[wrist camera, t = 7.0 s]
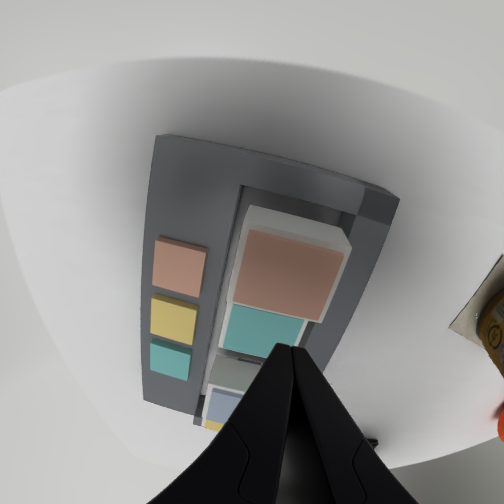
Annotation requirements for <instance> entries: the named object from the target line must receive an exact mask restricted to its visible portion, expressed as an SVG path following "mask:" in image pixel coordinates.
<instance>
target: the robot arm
mask: <svg viewBox="0 0 504 504" xmlns="http://www.w3.org/2000/svg"><path fill="white" fill-rule="evenodd" d="M377 445H378V441H377V440H367V439H366V438H364V435H363V433H362V432H361V430H360V429H359V428H358V426H357V425H356V423H355V422H354V420H353V419H352V417H351V416H350V414H349V413H348V411H347V410H346V408H345V407H344V405H343V404H342V402H341V401H340V399H339V398H338V396H337V395H336V393H335V392H334V390H333V389H332V387H331V386H330V384H329V383H328V381H327V380H326V378H325V377H324V375H323V374H322V372H321V371H320V369H319V368H318V366H317V365H316V363H315V362H314V360H313V359H312V357H311V356H310V354H309V353H308V351H307V350H306V349H305V348H303V347H298V346H291V347H290V345H288V344H283V343H279V342H277V343H276V344H275V345H274V347H273V349H272V350H271V352H270V354H269V355H268V357H267V358H266V360H265V362H264V363H263V365H262V367H261V368H260V370H259V372H258V373H257V375H256V376H255V378H254V380H253V381H252V383H251V384H250V386H249V387H248V389H247V391H246V392H245V394H244V395H243V397H242V398H241V400H240V401H239V403H238V405H237V406H236V408H235V409H234V411H233V412H232V414H231V415H230V417H229V418H228V420H227V421H226V422H225V424H224V425H223V427H222V428H221V430H220V431H219V433H218V434H217V435H216V437H215V438H214V439H213V440H212V442H211V443H210V444H209V446H208V447H207V448H206V449H205V450H204V451H203V452H202V453H201V454H200V456H199V457H198V458H197V459H196V460H195V461H194V462H193V463H192V464H191V465H190V466H189V467H188V468H187V469H186V470H184V471H183V472H182V473H181V474H180V475H179V476H178V477H177V478H176V479H175V480H174V481H173V482H172V483H171V484H169V485H168V486H167V487H166V488H165V489H164V490H163V491H162V492H160V493H159V494H158V495H157V496H156V497H154V498H153V499H152V500H151V501H149V502H148V503H147V504H419V503H418V502H417V501H416V500H415V499H414V498H413V497H412V496H411V494H409V492H408V491H407V490H406V489H405V488H404V487H403V486H402V484H401V483H400V482H399V481H398V480H397V479H396V478H395V476H394V475H393V474H392V473H391V472H390V470H389V469H388V468H387V467H386V466H385V464H384V463H383V462H382V460H381V459H380V458H379V456H378V455H377V454H376V452H375V451H374V448H375V447H376V446H377Z"/></svg>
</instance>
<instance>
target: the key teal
mask: <svg viewBox="0 0 504 504" xmlns="http://www.w3.org/2000/svg"><path fill="white" fill-rule="evenodd" d="M307 323H308V320H303V319H298V318H294V317H289V316H285V315H280V314H276V313H271V312H267V311H263V310H258V309H254V308H250V307H246V306H242V305H238V304H234V303H230V302H227V307H226V311H225V316H224V321H223V325H222V330H221V334H220V339H219V344H218V347H220V348H224V349H228V350H232V351H236V352H240V353H245V354H249V355H254V356H258V357H263V358H267V357H268V355H269V354H270V352H271V350H272V349H273V347H274V345H275V344H276V343H277V342H279V343H283V344H288V345H290V347H291V346H298V344H299V342H300V340H301V337H302V335H303V332H304V330H305V328H306V325H307Z"/></svg>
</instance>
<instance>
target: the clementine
mask: <svg viewBox="0 0 504 504" xmlns="http://www.w3.org/2000/svg"><path fill="white" fill-rule="evenodd" d="M498 434H499V437H500V438H501V440H502V441H503V442H504V409H503V410H502V412H501V414H500V417H499V420H498Z"/></svg>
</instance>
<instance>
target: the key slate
mask: <svg viewBox="0 0 504 504" xmlns="http://www.w3.org/2000/svg"><path fill="white" fill-rule="evenodd" d="M261 367H262V366H261V363H257V362H253V361H248V360H244V359H240V358H238V359H237V360H234V359H230V358H226V357H222V356H218V355H216V358H215V361H214V365H213V368H212V372H211V376H210V379H209V383H208V387H207V392H206V397H205V402H204V407H203V412H202V417H203V418H206V420H210V421H214V422H218V423H222V424H225V422H226V421H227V420H228V418H229V417H230V415H231V414H232V412H233V411H234V409H235V408H236V406H237V405H238V403H239V401H240V400H241V398H242V397H243V395H244V394H245V392H246V391H247V389H248V387H249V386H250V384H251V383H252V381H253V380H254V378H255V376H256V375H257V373H258V372H259V370H260V368H261Z"/></svg>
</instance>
